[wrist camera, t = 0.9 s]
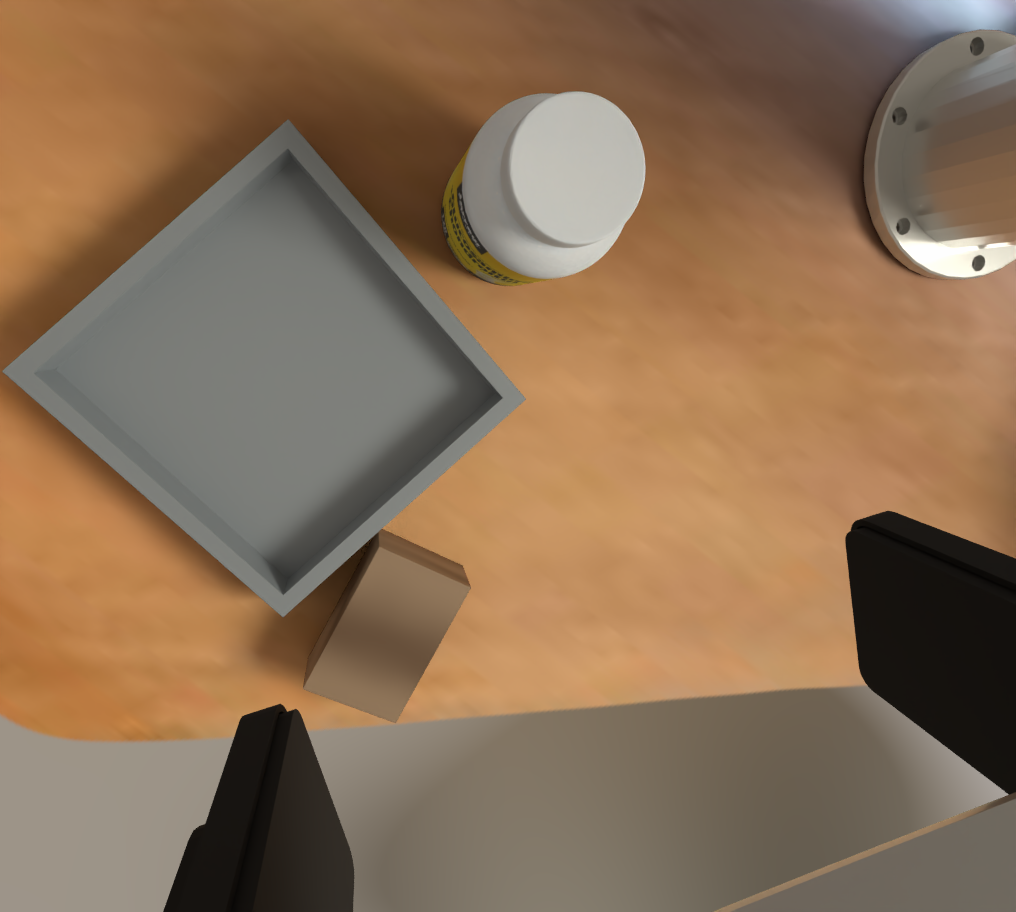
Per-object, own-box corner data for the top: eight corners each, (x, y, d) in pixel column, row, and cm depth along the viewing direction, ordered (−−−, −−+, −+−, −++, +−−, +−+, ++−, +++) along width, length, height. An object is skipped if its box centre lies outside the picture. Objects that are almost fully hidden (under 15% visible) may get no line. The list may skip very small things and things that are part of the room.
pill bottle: (417, 177, 31) (444, 99, 20) (539, 127, 32) (633, 25, 21) (471, 308, 33) (524, 303, 22) (586, 257, 33) (696, 228, 22)
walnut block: (378, 527, 34) (379, 546, 31) (462, 565, 35) (470, 587, 32) (308, 658, 35) (302, 689, 32) (393, 690, 36) (395, 723, 33)
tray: (294, 135, 30) (288, 119, 27) (514, 393, 34) (526, 399, 32) (33, 366, 29) (1, 371, 27) (289, 595, 34) (282, 617, 31)
